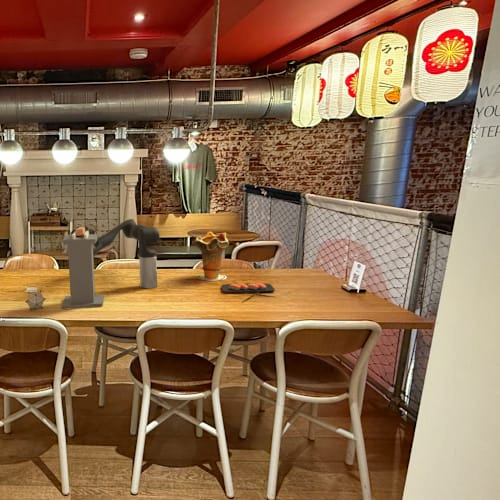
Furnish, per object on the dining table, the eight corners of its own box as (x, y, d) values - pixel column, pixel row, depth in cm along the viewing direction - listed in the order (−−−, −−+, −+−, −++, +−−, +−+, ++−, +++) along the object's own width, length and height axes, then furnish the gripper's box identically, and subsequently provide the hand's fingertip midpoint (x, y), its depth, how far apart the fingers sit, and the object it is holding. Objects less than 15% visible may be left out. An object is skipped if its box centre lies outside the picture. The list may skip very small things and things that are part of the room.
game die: (31, 316, 191) (17, 300, 189) (46, 305, 197) (32, 289, 195) (38, 311, 185) (23, 294, 183) (53, 300, 191) (39, 283, 189)
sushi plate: (270, 286, 241) (270, 280, 240) (282, 302, 212) (283, 295, 211) (220, 287, 235) (220, 281, 235) (226, 304, 206) (226, 296, 206)
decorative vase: (190, 280, 244) (191, 233, 240) (199, 273, 267) (200, 230, 263) (224, 283, 242) (226, 235, 238) (231, 275, 265) (232, 231, 261)
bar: (79, 233, 216) (79, 227, 216) (86, 232, 217) (85, 227, 217) (76, 235, 195) (75, 229, 195) (83, 235, 196) (82, 229, 196)
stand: (104, 295, 212) (101, 230, 206) (102, 306, 196) (99, 235, 190) (66, 298, 207) (62, 230, 201) (61, 309, 191) (56, 236, 185)
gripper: (98, 245, 228) (96, 234, 212) (71, 247, 224) (67, 235, 208) (98, 233, 230) (96, 220, 215) (70, 234, 226) (66, 221, 210)
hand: (81, 228), depth 211 cm, fingers closed on bar, 3 cm apart
